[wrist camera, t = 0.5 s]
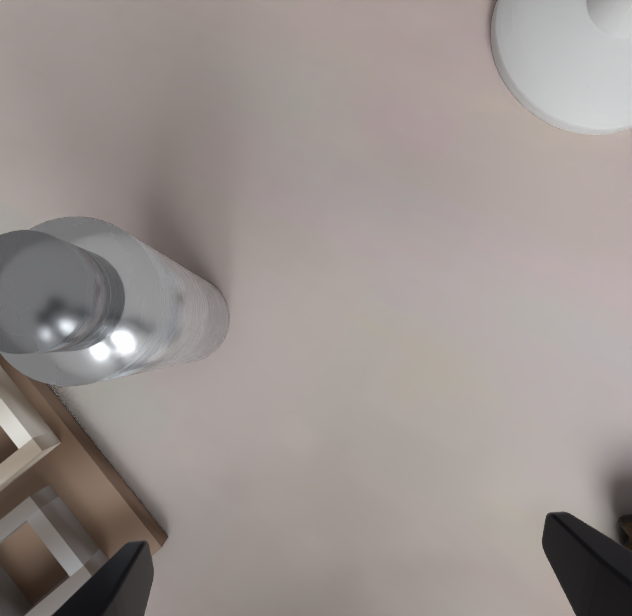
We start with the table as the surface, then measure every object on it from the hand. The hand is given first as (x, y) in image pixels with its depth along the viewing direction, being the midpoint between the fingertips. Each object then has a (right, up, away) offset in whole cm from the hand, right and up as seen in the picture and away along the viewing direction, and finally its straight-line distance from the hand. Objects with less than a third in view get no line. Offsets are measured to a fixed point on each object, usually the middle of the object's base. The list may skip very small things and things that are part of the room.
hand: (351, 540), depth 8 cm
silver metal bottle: (-8, +5, +14) cm, 17 cm away
